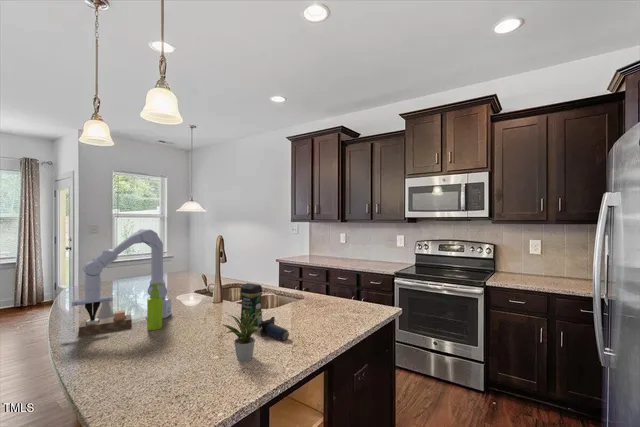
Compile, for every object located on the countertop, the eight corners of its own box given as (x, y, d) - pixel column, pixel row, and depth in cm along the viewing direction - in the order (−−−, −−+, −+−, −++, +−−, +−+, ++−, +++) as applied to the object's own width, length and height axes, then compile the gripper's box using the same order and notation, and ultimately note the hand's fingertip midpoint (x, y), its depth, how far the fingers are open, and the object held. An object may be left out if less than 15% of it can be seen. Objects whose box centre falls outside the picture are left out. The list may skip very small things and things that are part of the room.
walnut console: (130, 321, 151) (130, 314, 151) (131, 327, 143) (131, 319, 143) (80, 329, 140) (80, 321, 140) (78, 335, 133) (78, 327, 133)
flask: (118, 315, 160) (118, 295, 160) (107, 320, 153) (107, 299, 153) (104, 315, 161) (104, 295, 161) (93, 319, 154) (93, 299, 154)
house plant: (250, 345, 122) (250, 302, 122) (275, 354, 113) (274, 308, 113) (217, 358, 111) (217, 311, 111) (242, 369, 102) (241, 319, 102)
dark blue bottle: (259, 339, 131) (280, 348, 124) (257, 322, 130) (278, 330, 123) (275, 329, 138) (295, 336, 131) (273, 312, 137) (294, 319, 130)
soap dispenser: (158, 330, 138) (157, 284, 138) (144, 329, 140) (144, 284, 140) (167, 326, 144) (167, 282, 144) (153, 325, 145) (153, 281, 146)
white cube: (98, 328, 142) (98, 318, 142) (98, 330, 138) (98, 320, 138) (87, 329, 140) (87, 319, 140) (86, 332, 136) (86, 322, 136)
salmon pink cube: (124, 319, 147) (124, 310, 147) (125, 322, 144) (124, 312, 144) (114, 321, 145) (114, 311, 145) (114, 323, 142) (114, 313, 142)
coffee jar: (237, 325, 145) (237, 284, 145) (249, 320, 152) (249, 281, 152) (253, 328, 140) (253, 286, 140) (265, 323, 147) (265, 283, 147)
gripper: (70, 292, 132) (70, 325, 132) (112, 288, 140) (112, 319, 140) (72, 289, 138) (72, 321, 138) (112, 285, 146) (112, 315, 145)
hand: (92, 320), depth 139 cm, fingers closed, pressing on white cube
